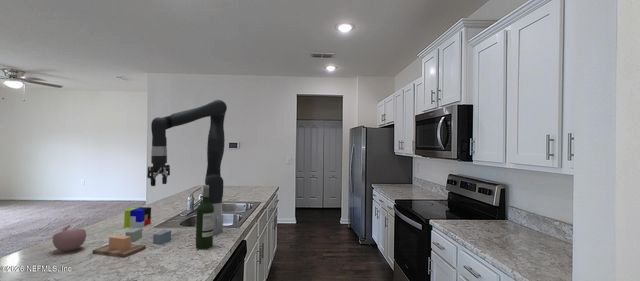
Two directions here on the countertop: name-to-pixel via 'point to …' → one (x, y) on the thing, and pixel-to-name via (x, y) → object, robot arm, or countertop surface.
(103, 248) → the walnut board
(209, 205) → the wine bottle
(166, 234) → the slate brick
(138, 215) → the puzzle toy
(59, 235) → the mortar and pestle
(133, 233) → the sage brick
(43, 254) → the countertop surface
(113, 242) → the terracotta brick
